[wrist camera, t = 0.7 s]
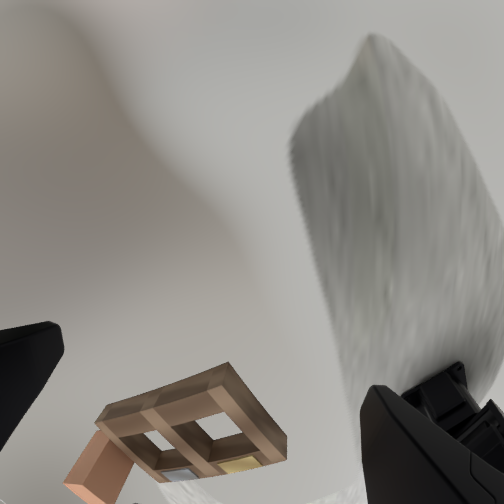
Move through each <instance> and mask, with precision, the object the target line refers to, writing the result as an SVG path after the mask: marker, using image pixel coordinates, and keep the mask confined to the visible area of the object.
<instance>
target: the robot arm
mask: <svg viewBox="0 0 504 504" xmlns="http://www.w3.org/2000/svg"><path fill="white" fill-rule="evenodd" d="M63 353H64V343H63V338H62V332H61V328H60V326H59V325H58V324H56V323H53V322H51V321H46V322H41V323H35V324H31V325H25V326H20V327H16V328H10V329H4V330H0V451H1V450H2V448H3V447H4V445H5V444H6V442H7V440H8V439H9V437H10V436H11V434H12V433H13V431H14V430H15V428H16V427H17V425H18V424H19V422H20V421H21V419H22V418H23V416H24V415H25V413H26V412H27V411H28V409H29V408H30V406H31V405H32V403H33V402H34V401H35V399H36V398H37V396H38V395H39V394H40V392H41V391H42V389H43V388H44V386H45V384H46V382H47V380H48V379H49V377H50V376H51V374H52V372H53V370H54V369H55V367H56V365H57V364H58V362H59V360H60V359H61V357H62V356H63ZM458 367H459V368H458ZM360 427H361V451H362V464H363V472H364V478H365V485H366V492H367V500H368V504H504V413H503V411H501V409H500V408H499V407H498V406H497V405H496V404H495V403H494V402H493V400H492V399H490V400H489V401H488V402H487V403H486V405H485V406H484V408H482V409H480V407H479V406H478V404H477V403H476V401H475V400H474V399H473V397H472V396H471V394H470V393H469V392H468V390H467V382H466V376H465V369H464V365H463V363H462V362H457V363H455V364H454V365H452V366H451V367H449V368H448V369H446V370H445V371H443V372H441V373H440V374H438V375H436V376H435V377H433V378H431V379H430V380H428V381H426V382H425V383H423V384H421V385H419V386H418V387H416V388H414V389H412V390H410V391H408V392H407V393H405V394H403V395H402V396H401V397H400V396H399V395H397V394H396V393H395V392H393V391H392V390H391V389H390V388H388V387H387V386H385V385H372V386H371V387H370V388H369V390H368V392H367V395H366V397H365V399H364V402H363V404H362V406H361V410H360Z"/></svg>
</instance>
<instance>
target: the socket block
mask: <svg viewBox="0 0 504 504" xmlns="http://www.w3.org/2000/svg"><path fill="white" fill-rule="evenodd" d="M221 412H225V413H226V414H227V415H228V416H229V417H230V418H231V420H232V421H233V422H234V423H235V424H236V425H237V426H238V427H239V428H240V430H241V431H242V433H239V434H235V435H232V436H228V437H224V438H220V439H216V440H213V439H212V438H211V437H210V436H209V435H208V434H207V433H206V432H205V431H204V430H203V429H202V428H201V427H200V426H199V425H198V424H197V423H196V422H195V420H197V419H201V418H204V417H207V416H211V415H214V414H218V413H221ZM95 424H96V425H97V426H98V427H99V429H100V430H101V431H102V432H103V433H104V434H105V435H106V436H107V437H108V438H109V439H110V440H111V441H112V442H113V443H114V444H115V445H116V446H117V447H118V448H120V449H121V450H122V451H123V452H124V453H125V454H126V455H127V456H128V457H129V458H130V459H131V460H133V461H134V462H135V463H136V464H137V465H138V466H139V467H141V468H142V469H143V470H144V471H146V473H148V474H149V475H150V476H151V477H152V478H154V479H155V480H156V481H157V482H159V483H164V482H175V481H184V480H193V479H200V478H207V477H213V476H219V475H225V474H230V473H235V472H240V471H244V470H249V469H254V468H258V467H262V466H266V465H270V464H274V463H278V462H281V461H285V460H287V435H286V434H285V433H284V432H283V431H282V430H281V428H280V427H279V426H278V425H277V423H276V422H275V421H274V420H273V419H272V417H271V416H270V415H269V414H268V413H267V411H266V410H265V409H264V408H263V406H262V405H261V404H260V402H259V401H258V400H257V399H256V397H255V396H254V395H253V394H252V392H251V391H250V390H249V388H248V387H247V386H246V384H244V382H243V381H242V380H241V378H240V377H239V375H238V374H237V373H236V371H235V370H234V369H233V367H232V366H231V365H230V363H229V362H226V363H224V364H221V365H219V366H217V367H214V368H211V369H209V370H207V371H204V372H201V373H199V374H196V375H194V376H191V377H188V378H186V379H183V380H180V381H177V382H175V383H172V384H169V385H166V386H163V387H161V388H158V389H155V390H152V391H149V392H146V393H143V394H140V395H137V396H134V397H131V398H128V399H124V400H121V401H118V402H115V403H111V404H108V405H107V406H106V407H105V409H104V410H103V411H102V413H101V414H100V416H99V417H98V418H97V420H96V421H95ZM154 430H157V431H158V432H159V433H160V434H161V435H162V436H163V437H164V438H165V439H166V440H167V441H168V442H169V443H170V444H171V445H172V446H174V447H175V448H176V449H171V450H165V451H161V450H160V449H159V448H158V447H157V446H156V445H155V444H154V443H153V442H152V441H151V440H149V439H148V438H147V437H146V436H145V435H144V434H143V433H145V432H149V431H154Z"/></svg>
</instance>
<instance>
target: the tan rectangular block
mask: <svg viewBox="0 0 504 504" xmlns="http://www.w3.org/2000/svg"><path fill="white" fill-rule="evenodd" d="M133 464H134V461H133V460H131V459H130V458H129V457H128V456H127V455H126V454H125V453H124V452H123V451H122V450H121V449H120V448H118V447H117V446H116V445H115V444H114V443H113V442H112V441H111V440H110V439H109V438H108V437H107V436H106V435H105V434H104V433H103V432H102V431H101V430H99V431H96V433H95V434H94V436H93V437H92V439H91V440H90V442H89V443H88V445H87V446H86V448H85V449H84V451H83V452H82V454H81V455H80V457H79V458H78V460H77V462H76V463H75V465H74V466H73V468H72V469H71V471H70V472H69V474H68V476H67V477H66V479H65V480H64V482H63V484H64V485H65V486H67V487H68V488H69V489H70V490H71V491H73V492H74V493H75V494H76V495H77V496H79V497H80V498H81V499H83V500H84V501H85V502H86V503H88V504H115V502H116V500H117V498H118V495H119V493H120V491H121V489H122V487H123V485H124V483H125V481H126V479H127V477H128V474H129V473H130V470H131V468H132V466H133Z"/></svg>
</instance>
